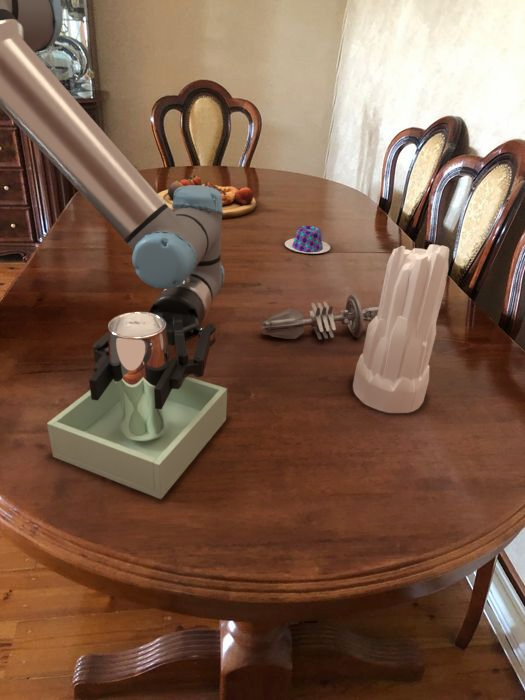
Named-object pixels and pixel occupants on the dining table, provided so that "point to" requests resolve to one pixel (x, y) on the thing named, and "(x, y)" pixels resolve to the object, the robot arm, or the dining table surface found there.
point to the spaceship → (320, 320)
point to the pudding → (308, 241)
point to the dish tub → (139, 456)
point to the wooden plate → (231, 197)
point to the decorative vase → (403, 331)
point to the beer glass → (139, 371)
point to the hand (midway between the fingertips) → (125, 394)
